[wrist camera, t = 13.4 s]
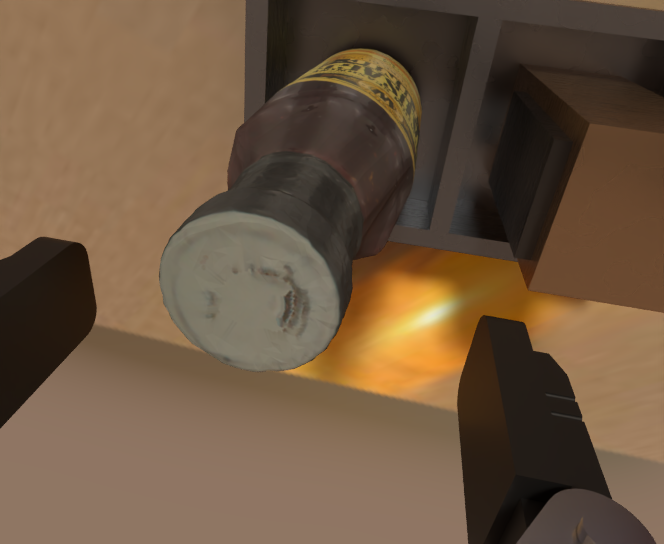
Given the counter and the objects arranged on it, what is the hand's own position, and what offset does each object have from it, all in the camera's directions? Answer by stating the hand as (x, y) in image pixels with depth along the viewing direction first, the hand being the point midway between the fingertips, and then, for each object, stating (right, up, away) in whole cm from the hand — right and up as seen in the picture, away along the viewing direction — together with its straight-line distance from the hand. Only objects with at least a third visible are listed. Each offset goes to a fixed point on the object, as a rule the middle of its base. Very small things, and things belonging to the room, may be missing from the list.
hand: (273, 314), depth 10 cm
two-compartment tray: (+8, +10, +17) cm, 21 cm away
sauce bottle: (+3, +10, +17) cm, 20 cm away
